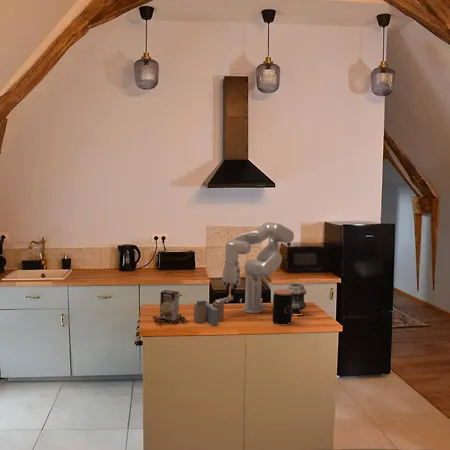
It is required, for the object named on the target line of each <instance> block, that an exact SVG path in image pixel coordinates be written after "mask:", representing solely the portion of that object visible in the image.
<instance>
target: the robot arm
mask: <svg viewBox="0 0 450 450" xmlns="http://www.w3.org/2000/svg"><path fill="white" fill-rule="evenodd" d="M294 238H295V234H294V231H292V230H291V229H290V228H288V227H286V226H285V225H282V224H280V223H275V222H265V223H263V224H262V225H260V226H259V227H257V228H255V229H254V230H251V231H248V232H244V233H241V234H239V235H237V236H236V237H233V238H232V239H231V240H230V241H228V242H226V243H225V251H224V252H225V254H224V255H225V256H224V257H225V258H224V266H223V269H222V279H221V282H222V284H223V285H224V286H225V288H226V289H225V295H228V294H229V286H232V289H231V296H232V295H233V296H235V295H236V289H237V287H238V286H241V270H240V262H239V255H247V254H249V253H250V252H251V251H252V250H251V249H252V246H251V245H257V244H261V243H262V242H264V241H265V240H267V239H268V242H267V243H268V244H267V245H266V246H265V247H264V248H263V249H262V250H261V251H260V252H259V253H258V254H257V256H256V259H253V258H252V259H248V260H247V261H246V262H245V264H244V274H245V291H244V292H245V293H244V295H245V296H244V307H242V308H241V310H242V312H244V313H248V314H261V313H263V312H264V311H263V309H264V308H268V304H267V303H266V304H265V303H262V302H261V300H262V299H261V298H262V279H261V278H268V277H270V276H271V275H272V274H273V273H275V271H276V270H277V269H279V267H280V266H281V264H282V260H283V257H282V255H281V253H280V245H279V243H285V244H291V243H292V242H293V241H294ZM260 312H261V313H260Z"/></svg>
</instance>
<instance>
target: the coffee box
mask: <svg viewBox="0 0 450 450" xmlns="http://www.w3.org/2000/svg"><path fill="white" fill-rule="evenodd" d="M159 303H160V305H159V309H160V310H159V319H160V318H164V319H171V320H175V319H176V318H177V317H178V318H179V305H180V304H179V303H180V291H176V290H169V289H164V290H162V291H160V302H159Z"/></svg>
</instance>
